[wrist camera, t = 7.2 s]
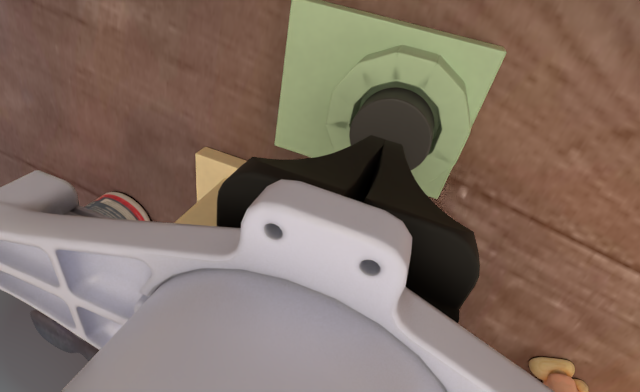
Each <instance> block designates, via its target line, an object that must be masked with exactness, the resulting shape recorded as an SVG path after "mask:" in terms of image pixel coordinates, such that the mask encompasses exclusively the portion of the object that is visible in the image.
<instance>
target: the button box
mask: <svg viewBox="0 0 640 392" xmlns="http://www.w3.org/2000/svg"><path fill="white" fill-rule="evenodd" d="M505 55H506V51H505V49H504V47H502V46H498V45H494V44H490V43H486V42H482V41H478V40H474V39H470V38H466V37H462V36H458V35H455V34H451V33H447V32H443V31H439V30H435V29H431V28H427V27H423V26H419V25H415V24H411V23H408V22H404V21H400V20H396V19H392V18H388V17H384V16H380V15H376V14H372V13H368V12H364V11H361V10H357V9H353V8H349V7H345V6H341V5H337V4H333V3H329V2H325V1H321V0H291V9H290V17H289V26H288V34H287V43H286V51H285V60H284V68H283V77H282V85H281V94H280V102H279V111H278V119H277V128H276V136H275V146H278V147H281V148H284V149H287V150H290V151H293V152H296V153H299V154H302V155H306V156H309V157H312V158H315V157H320V156H324V155H328V154H331V153H334V152H337V151H340V150H342V149H345V148H347V147H349V146H351V144H350V138H349V132H350V126H351V123H352V121H353V119H354V117H355V115H356V114H357V112H358V111H359V109H360V108H361V107H362V105H363V104H364V102H365V101H366V100H367V99H368V98H369V97H370V96H371V95H373V94H374V93H376V92H378V91H380V90H383V89H386V88H394V87H397V88H404V89H408V90H411V91H413V92H415V93H417V94H418V95H420V96H421V97H422V98H423V99H424V100H425V101H426V102H427V103H428V105H429V107H430V108H431V111H432V113H433V117H434V132H433V138H432V144H431V148H430V151H429V153H428V155H427V157H426V158H425V160H424V161H423V162H422V163H421V164H420V165H419V166H417V167H416V168H414V169H413V170H411V172H412V174H413V176H414V178H415V180H416V182H417V183H418V185H419V186H420V187H421V189H422V190H423V192H424V193H425V194H426V195H427V196H429V197H432V198H435V199H438V197H439V195H440V193H441V191H442V189H443V186H444V184H445V182H446V180H447V178H448V176H449V174H450V172H451V169H452V167H453V166H454V165H455V164H456V162H457V160H458V158H459V156H460V154H461V151H462V149H463V147H464V145H465V143H466V141H467V139H468V137H469V135H470V130H471V127H472V125H473V123H474V121H475V119H476V116H477V114H478V112H479V110H480V108H481V106H482V104H483V102H484V99H485V97H486V95H487V93H488V91H489V89H490V87H491V85H492V82H493V80H494V78H495V76H496V74H497V72H498V70H499V68H500V66H501V63H502V61H503V59H504V57H505Z"/></svg>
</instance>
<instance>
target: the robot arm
mask: <svg viewBox="0 0 640 392" xmlns="http://www.w3.org/2000/svg"><path fill="white" fill-rule="evenodd" d="M479 267H480V263H479V253H478V248H477V244H476V240H475V236H474V232H473V231H471V230H469V229H468V228H466V227H464V226H463V225H461V224H460V223H458V222H456V221H455V220H453V219H452V218H451V217H449V216H448V215H447V214H446V213H444V212H443V211H442V210H441V209H440V208H438V207H437V206H436V205H435V204H434V203H433V202H432V201H431V200H430V199H429V198H428V196H427V195H426V194H425V193H424V192H423V190H422V189H421V187H420V186H419V185H418V183H417V182H416V180H415V178H414V176H413V174H412V172H411V170H410V167H409V165H408V162H407V159H406V156H405V152H404V148H403V145H401V144H398V143H395V142H392V141H389V140H385V139H382V138H379V137H376V136H373V135H370V136H368V137H366V138H364V139H362V140H361V141H359V142H357V143H355V144H353V145H351V146H349V147H347V148H345V149H342V150H340V151H337V152H334V153H331V154H328V155H324V156H320V157H315V158H307V159H298V160H276V159H266V158H257V157H252V158H251V159H249V160H248V161H247V162H245V163H244V164H243V165H242V166H240V167H239V168H238V169H237V170H236V171H235V172H234V173H233V174H232V175H231V176H230V177H228V178H227V179H226V180H225V181H224V182H223V184H222V185H221V187H220V189H219V191H218V196H217V226H205V225H192V224H179V223H165V222H152V221H139V220H126V219H112V218H110V217H107V216H105V215H102V214H100V213H97V212H94V211H92V210H89V209H87V208H84V207H82V206H79V202H78V196H77V192H76V190H75V188H74V187H73V186H72V185H71V184H70V183H68V182H67V181H65V180H63V179H60V178H57V177H55V176H52V175H50V174H47V173H45V172H42V171H39V170H36V171H34V172H32V173H29V174H27V175H25V176H23V177H21V178H19V179H17V180H15V181H13V182H11V183H9V184H6V185H4V186H2V187H0V289H1V290H3V291H5V292H7V293H9V294H11V295H13V296H14V297H16V298H18V299H20V300H22V301H23V302H25V303H27V304H29V305H30V306H32V307H34V308H35V309H37V310H39V311H40V312H42V313H43V314H45V315H47V316H48V317H50V318H51V319H53V320H55V321H56V322H58V323H59V324H61V325H62V326H64V327H65V328H67V329H68V330H70V331H71V332H73V333H74V334H76V335H78V336H79V337H81V338H82V339H84V340H85V341H87V342H88V343H90V344H91V345H93V346H94V347H96V348H97V349H99V350H100V351H99V352H98V353H97V354H96V355H95V356H94V357H93V358H92V359H91V360H90V361H89V362H88V363H87V364H86V366H85V367H84V368H83V369H82V370H81V371H80V372H79V373H78V374H77V375H76V376H75V377H74V378H73V379H72V380H71V382H69V384H68V385H67V386H66V387H65V388H64V389H63V390H62V391H61V392H555V391H553V390H552V389H550V388H549V387H547V386H546V385H545V384H543V383H542V382H540V381H539V380H538V379H536V378H535V377H533V376H532V375H530V374H529V373H528V372H526V371H525V370H523V369H522V368H520V367H519V366H518V365H516V364H515V363H513V362H512V361H510V360H509V359H508V358H506V357H505V356H503V355H502V354H501V353H499V352H498V351H496V350H495V349H493V348H492V347H491V346H489V345H488V344H486V343H485V342H483V341H482V340H481V339H479V338H478V337H476V336H475V335H473V334H472V333H471V332H469V331H468V330H466V329H465V328H464V327H462V326H461V325H459V324H458V321H459V309H460V307H461V306H462V304H463V303H464V301H465V300H466V298H467V297H468V295H469V294H470V292H471V291H472V289H473V288H474V286H475V284H476V282H477V280H478V278H479Z"/></svg>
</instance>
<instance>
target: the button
mask: <svg viewBox="0 0 640 392" xmlns="http://www.w3.org/2000/svg"><path fill="white" fill-rule="evenodd" d="M433 132H434V117H433V113H432V111H431V108H430V107H429V105H428V103H427V102H426V101H425V100H424V99H423V98H422V97H421V96H420V95H418V94H417V93H415V92H413V91H411V90H408V89H404V88H397V87H394V88H386V89H383V90H380V91H378V92H376V93H374V94H373V95H371V96H370V97H369V98H368V99H367V100H366V101H365V102H364V104H363V105H362V107H361V108H360V109H359V111H358V112H357V114H356V115H355V117H354V119H353V121H352V123H351V126H350V132H349V138H350V144H351V145H353V144H355V143H357V142H359V141H361V140H362V139H364V138H366V137H368V136H370V135H373V136H376V137H379V138H382V139H385V140H389V141H392V142H395V143H398V144H401V145H403V148H404V152H405V156H406V159H407V162H408V165H409V167H410V170H413V169H414V168H416V167H417V166H419V165H420V164H421V163H422V162H423V161H424V160H425V158H426V157H427V155H428V153H429V151H430V148H431V144H432V138H433Z"/></svg>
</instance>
